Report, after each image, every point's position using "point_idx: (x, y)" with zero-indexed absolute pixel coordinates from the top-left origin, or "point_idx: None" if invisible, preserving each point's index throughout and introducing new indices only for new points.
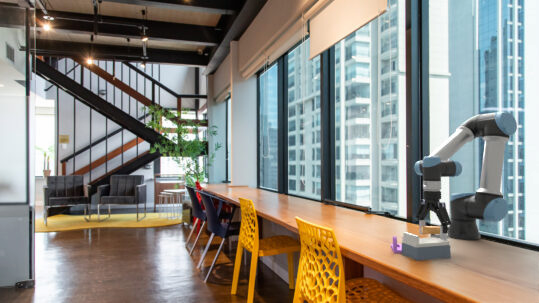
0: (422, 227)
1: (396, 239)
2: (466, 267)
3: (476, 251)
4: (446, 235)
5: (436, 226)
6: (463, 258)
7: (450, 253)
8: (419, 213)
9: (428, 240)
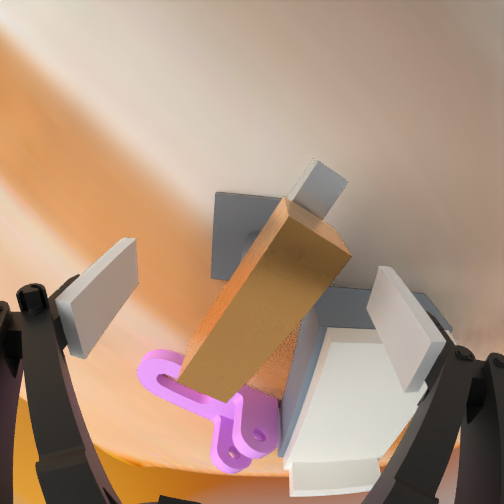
0: (220, 397)
1: (248, 464)
2: (497, 330)
3: (406, 40)
4: (405, 288)
5: (251, 278)
6: (460, 246)
7: (434, 305)
8: (13, 386)
9: (371, 414)
